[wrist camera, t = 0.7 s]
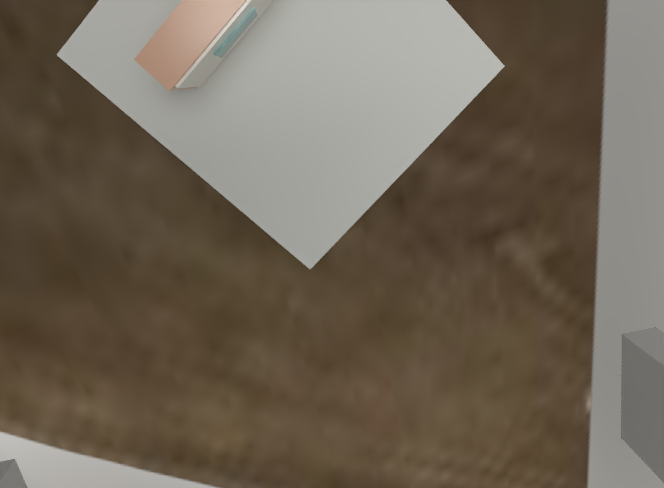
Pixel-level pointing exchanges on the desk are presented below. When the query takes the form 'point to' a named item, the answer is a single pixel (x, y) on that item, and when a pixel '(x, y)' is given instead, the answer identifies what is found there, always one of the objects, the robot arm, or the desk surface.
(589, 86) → the desk surface
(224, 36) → the tile
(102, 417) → the desk surface
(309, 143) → the mat
